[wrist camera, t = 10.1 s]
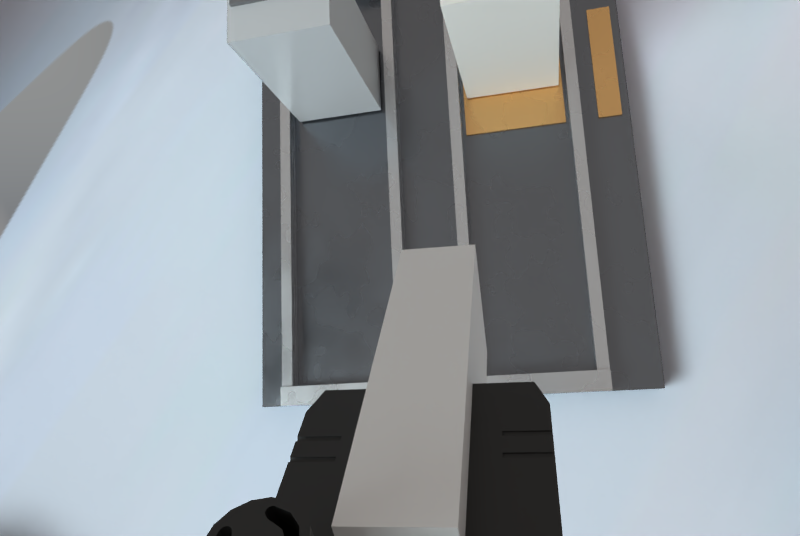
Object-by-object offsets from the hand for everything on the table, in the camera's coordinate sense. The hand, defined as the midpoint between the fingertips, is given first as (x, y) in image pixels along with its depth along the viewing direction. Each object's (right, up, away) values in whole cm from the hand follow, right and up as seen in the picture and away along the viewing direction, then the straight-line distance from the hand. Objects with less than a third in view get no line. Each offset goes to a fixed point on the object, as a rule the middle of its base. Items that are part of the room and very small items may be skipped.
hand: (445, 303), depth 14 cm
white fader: (+5, +12, +23) cm, 26 cm away
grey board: (+1, +6, +24) cm, 25 cm away
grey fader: (-5, +12, +25) cm, 28 cm away
